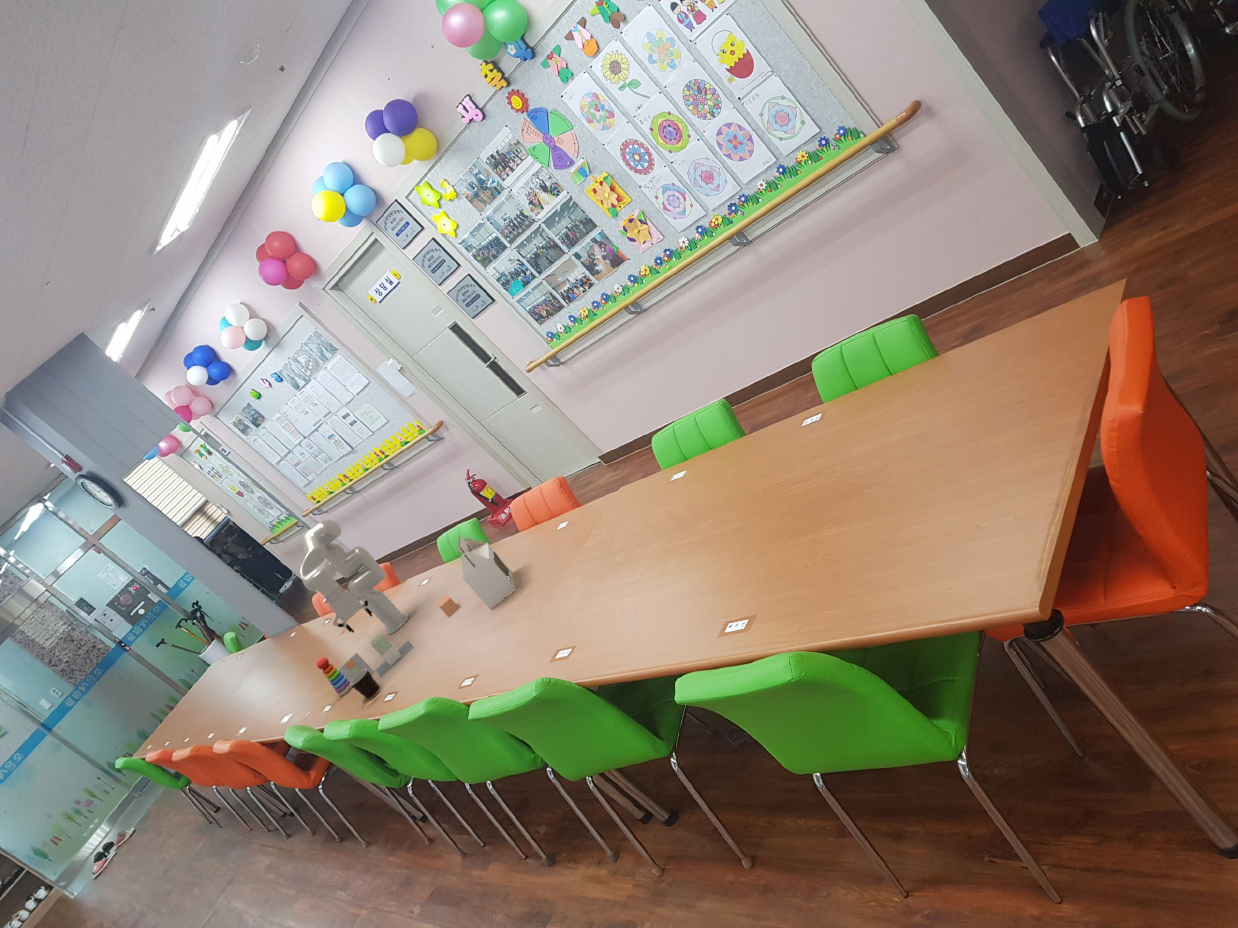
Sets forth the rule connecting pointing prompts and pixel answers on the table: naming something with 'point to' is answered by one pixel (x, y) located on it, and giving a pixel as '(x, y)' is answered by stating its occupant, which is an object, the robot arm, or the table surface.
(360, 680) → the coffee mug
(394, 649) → the off-white base block
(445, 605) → the terracotta block
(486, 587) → the gable box
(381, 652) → the sage green block
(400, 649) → the build plate
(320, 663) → the stacking toy
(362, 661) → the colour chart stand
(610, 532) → the table surface
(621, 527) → the table surface
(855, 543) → the table surface
